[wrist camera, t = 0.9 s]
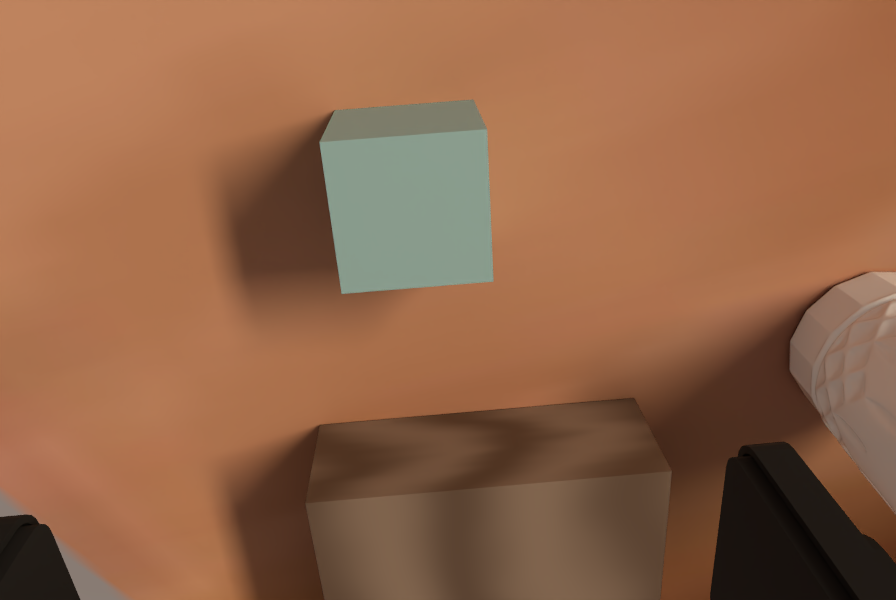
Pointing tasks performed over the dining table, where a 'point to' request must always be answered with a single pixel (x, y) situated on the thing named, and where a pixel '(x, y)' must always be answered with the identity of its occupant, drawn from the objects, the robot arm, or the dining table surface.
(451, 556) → the walnut riser
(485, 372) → the dining table surface
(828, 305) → the white cup
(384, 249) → the teal block
